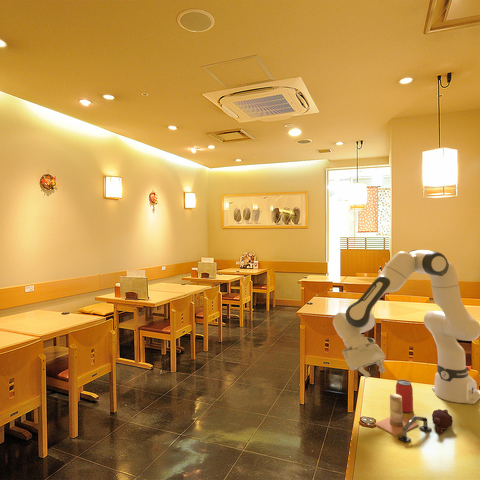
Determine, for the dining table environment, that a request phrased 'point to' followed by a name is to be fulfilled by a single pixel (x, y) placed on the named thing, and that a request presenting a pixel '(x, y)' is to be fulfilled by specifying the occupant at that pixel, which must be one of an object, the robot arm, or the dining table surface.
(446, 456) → the dining table surface
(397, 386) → the beer can
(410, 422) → the bent metal handle
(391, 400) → the birch post
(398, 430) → the tile
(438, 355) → the robot arm
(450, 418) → the icecream
